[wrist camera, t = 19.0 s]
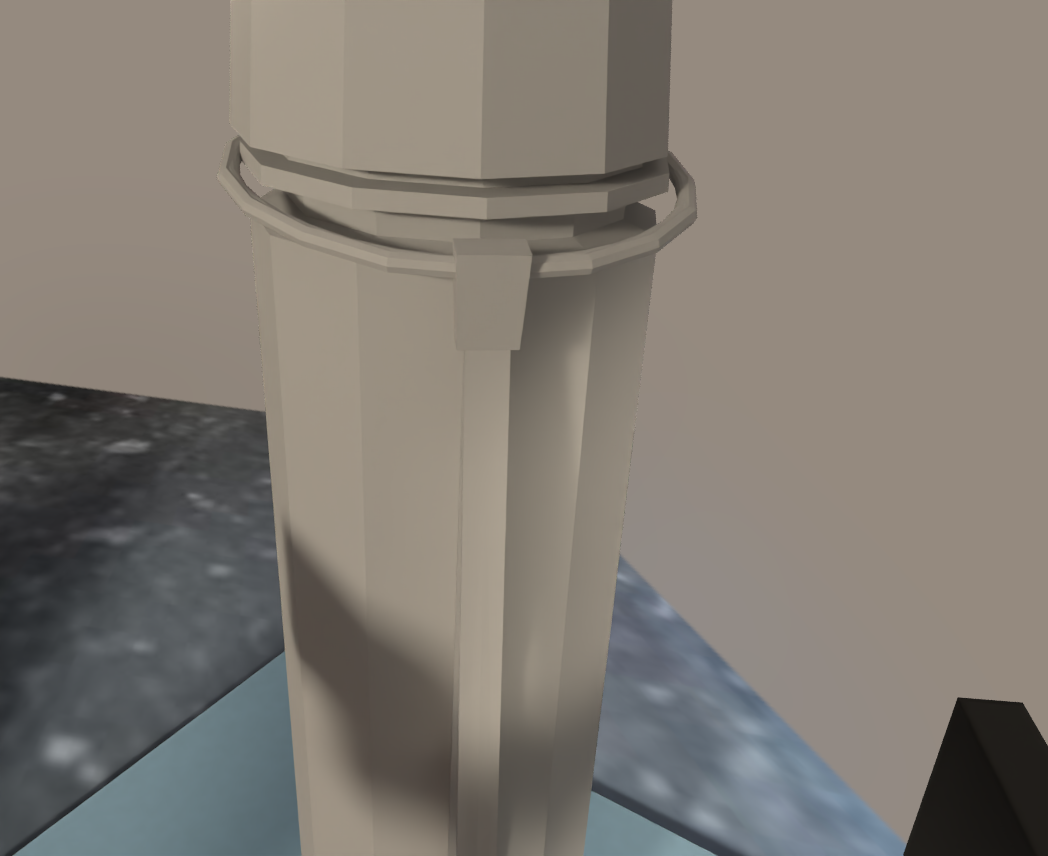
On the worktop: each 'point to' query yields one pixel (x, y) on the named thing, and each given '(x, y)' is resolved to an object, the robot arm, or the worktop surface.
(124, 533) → the worktop surface
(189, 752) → the blue mat
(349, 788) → the water bottle
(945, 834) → the robot arm
